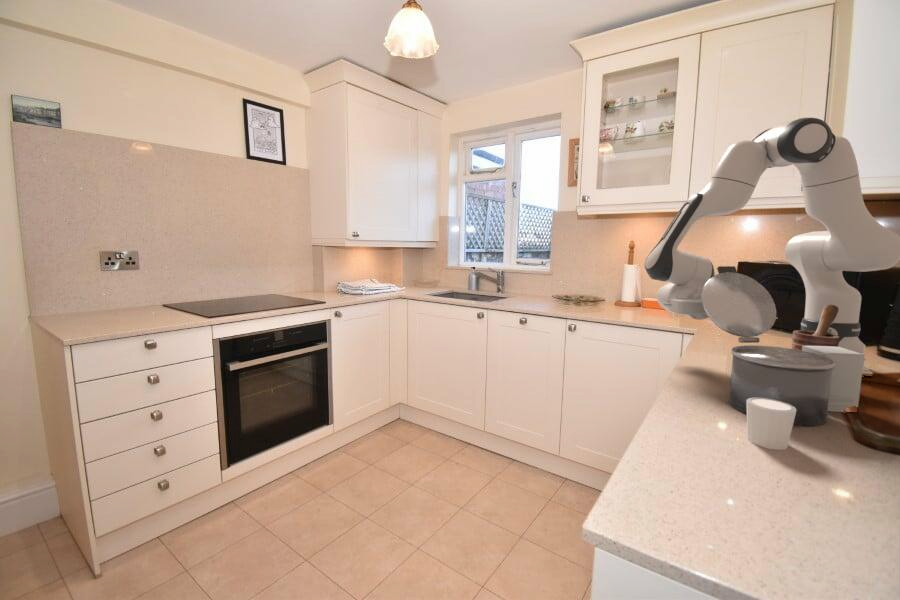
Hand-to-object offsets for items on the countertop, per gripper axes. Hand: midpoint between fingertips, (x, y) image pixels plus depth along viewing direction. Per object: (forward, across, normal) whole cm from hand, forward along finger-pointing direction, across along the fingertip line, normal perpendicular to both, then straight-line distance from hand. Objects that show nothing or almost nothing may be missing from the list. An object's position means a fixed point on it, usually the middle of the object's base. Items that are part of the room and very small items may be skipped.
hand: (731, 310), depth 98 cm
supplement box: (+13, +13, +19) cm, 27 cm away
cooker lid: (+2, 0, -2) cm, 3 cm away
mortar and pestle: (-2, +23, +19) cm, 30 cm away
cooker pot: (+15, 0, +19) cm, 24 cm away
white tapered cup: (+30, -13, +19) cm, 37 cm away
